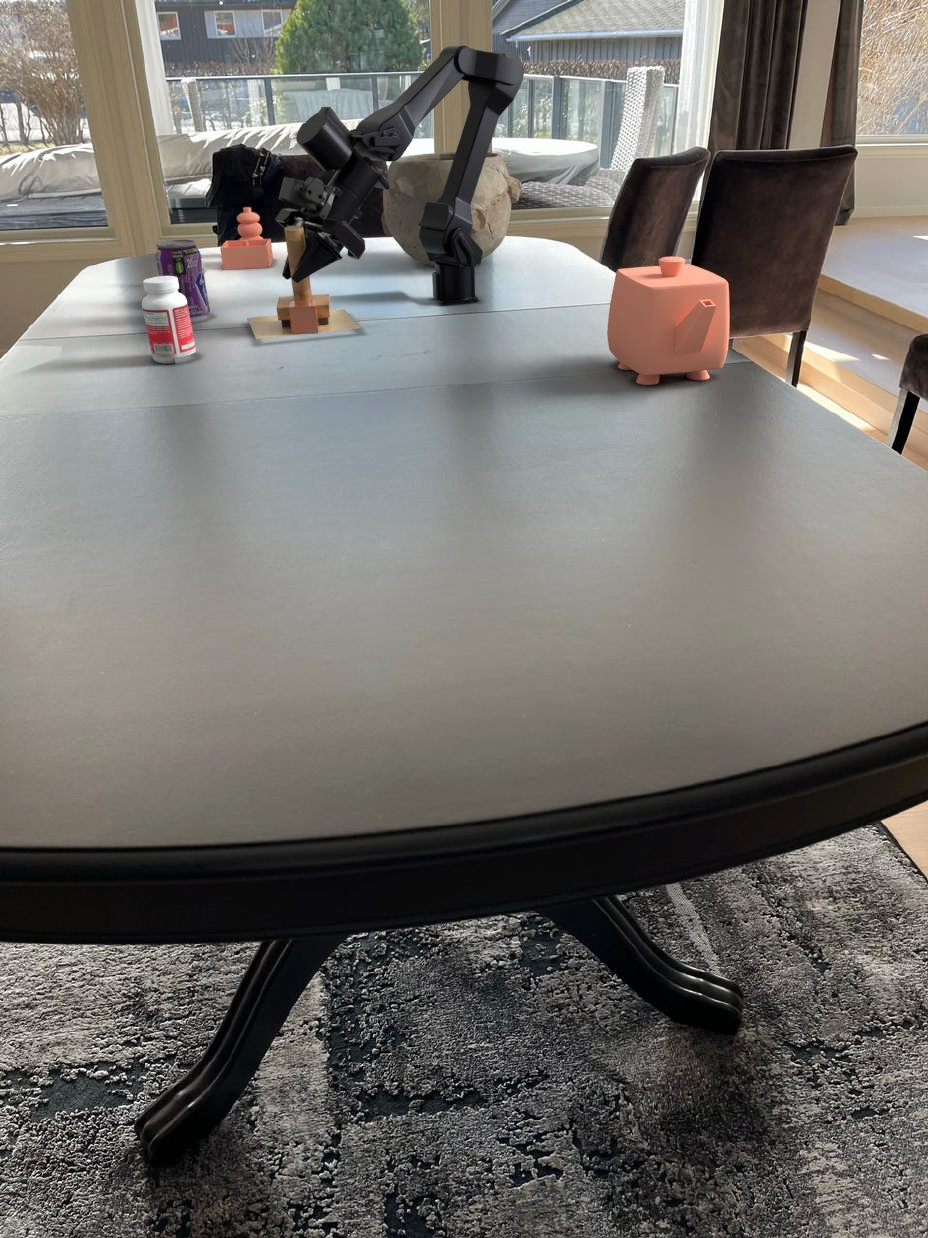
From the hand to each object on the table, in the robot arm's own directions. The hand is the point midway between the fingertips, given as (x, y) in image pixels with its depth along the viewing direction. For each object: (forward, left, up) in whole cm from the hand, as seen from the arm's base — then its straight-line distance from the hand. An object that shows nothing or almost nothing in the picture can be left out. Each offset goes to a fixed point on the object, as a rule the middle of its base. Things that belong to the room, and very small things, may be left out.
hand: (289, 279), depth 143 cm
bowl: (-37, -45, -8) cm, 59 cm away
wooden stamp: (-2, -1, -7) cm, 7 cm away
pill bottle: (+19, +8, -8) cm, 22 cm away
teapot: (-43, +41, -8) cm, 60 cm away
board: (-1, -2, -8) cm, 8 cm away
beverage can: (+16, -17, -8) cm, 24 cm away
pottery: (+1, -67, -8) cm, 67 cm away
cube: (-1, +3, -7) cm, 8 cm away
